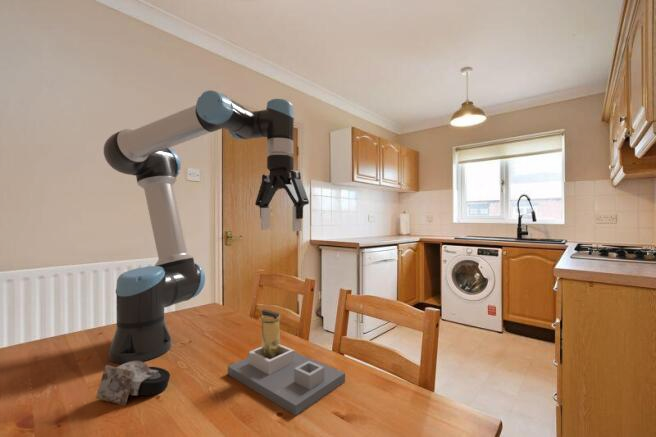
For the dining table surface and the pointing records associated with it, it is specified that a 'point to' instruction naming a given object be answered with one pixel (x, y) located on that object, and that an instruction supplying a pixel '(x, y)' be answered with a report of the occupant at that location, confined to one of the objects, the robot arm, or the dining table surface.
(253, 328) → the dining table surface
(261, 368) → the board
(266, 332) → the amber translucent cylinder
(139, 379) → the caster wheel
